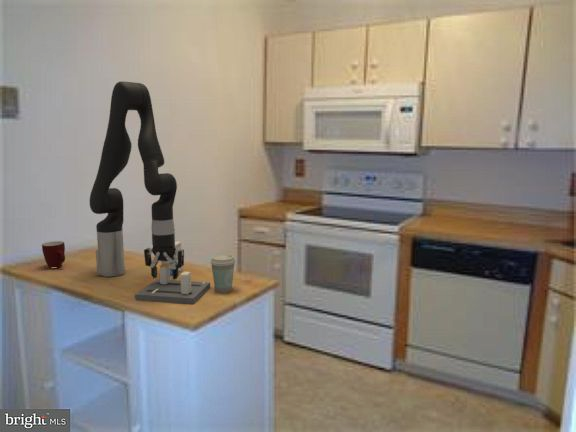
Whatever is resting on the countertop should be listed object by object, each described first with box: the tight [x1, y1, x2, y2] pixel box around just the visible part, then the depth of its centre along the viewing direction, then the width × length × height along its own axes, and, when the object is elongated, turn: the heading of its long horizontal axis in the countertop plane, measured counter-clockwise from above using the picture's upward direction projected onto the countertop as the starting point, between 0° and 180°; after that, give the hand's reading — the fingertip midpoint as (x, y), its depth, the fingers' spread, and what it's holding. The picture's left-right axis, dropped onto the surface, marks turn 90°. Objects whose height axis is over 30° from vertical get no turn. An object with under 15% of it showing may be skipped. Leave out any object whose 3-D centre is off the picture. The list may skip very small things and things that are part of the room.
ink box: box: [160, 240, 183, 276], centre depth 174 cm, size 9×5×12 cm, turn 168°
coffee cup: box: [209, 253, 236, 294], centre depth 154 cm, size 9×8×12 cm
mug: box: [41, 240, 66, 268], centre depth 179 cm, size 10×8×10 cm
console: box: [134, 278, 211, 305], centre depth 151 cm, size 20×16×2 cm
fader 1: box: [159, 263, 171, 284], centre depth 155 cm, size 2×3×7 cm
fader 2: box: [180, 271, 192, 294], centre depth 145 cm, size 2×3×7 cm
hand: (165, 278), depth 155 cm, fingers open, 7 cm apart
